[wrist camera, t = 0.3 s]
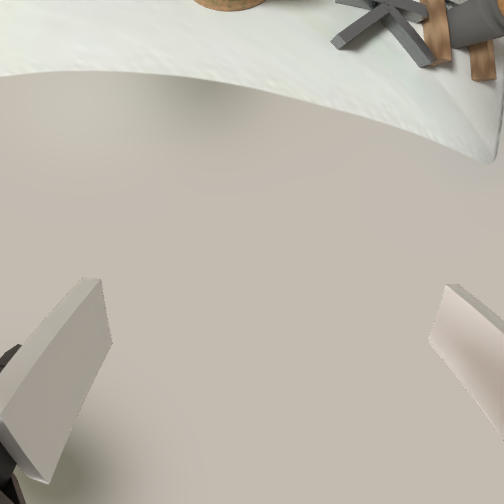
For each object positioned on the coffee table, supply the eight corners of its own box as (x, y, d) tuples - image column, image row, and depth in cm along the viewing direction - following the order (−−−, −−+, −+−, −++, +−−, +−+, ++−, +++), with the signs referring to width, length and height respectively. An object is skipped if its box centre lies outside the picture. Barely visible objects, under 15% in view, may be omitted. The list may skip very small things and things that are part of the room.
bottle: (465, 53, 31) (536, 39, 17) (435, 41, 31) (506, 17, 16) (462, 21, 29) (528, 0, 15) (432, 8, 29) (496, -23, 15)
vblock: (327, -11, 28) (334, -21, 26) (420, 13, 29) (431, 7, 26) (330, 48, 31) (337, 41, 29) (425, 69, 32) (437, 65, 29)
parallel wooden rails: (415, -27, 27) (429, -38, 22) (465, -5, 27) (482, -12, 23) (426, 63, 32) (444, 58, 28) (477, 81, 32) (496, 79, 28)
